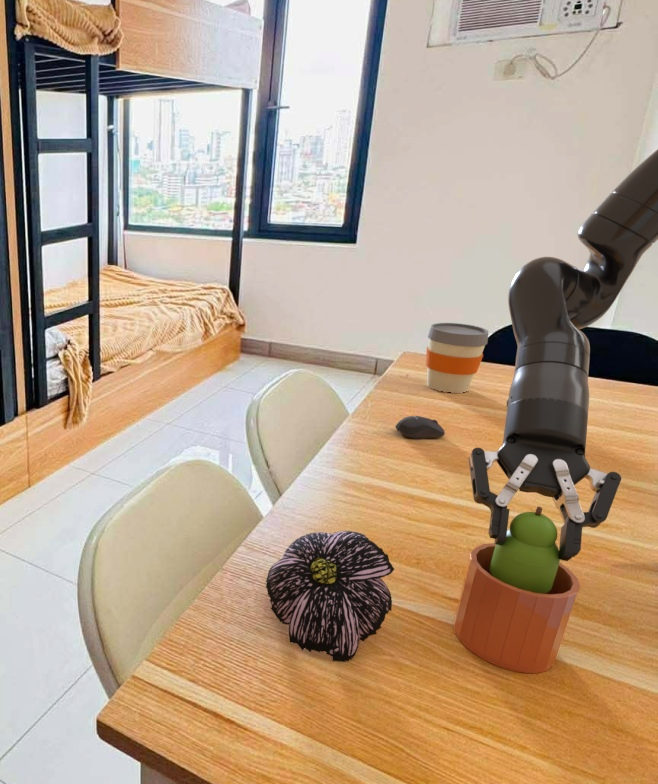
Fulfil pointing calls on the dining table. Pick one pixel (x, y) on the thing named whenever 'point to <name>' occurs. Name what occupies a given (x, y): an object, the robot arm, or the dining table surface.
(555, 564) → the green pear
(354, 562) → the decorative flower
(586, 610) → the dining table surface
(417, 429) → the computer mouse
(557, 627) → the terracotta cup
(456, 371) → the reusable coffee cup
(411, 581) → the dining table surface
